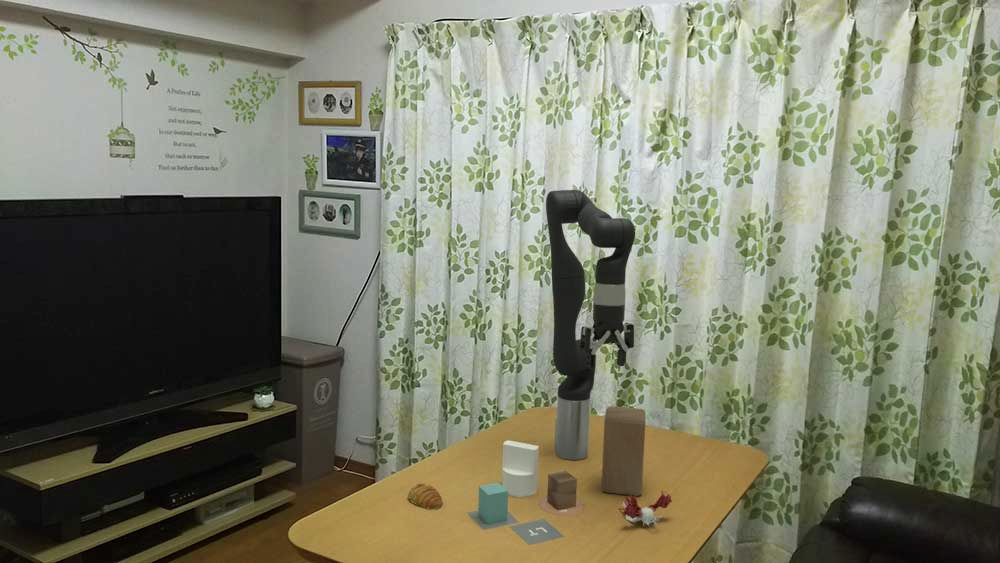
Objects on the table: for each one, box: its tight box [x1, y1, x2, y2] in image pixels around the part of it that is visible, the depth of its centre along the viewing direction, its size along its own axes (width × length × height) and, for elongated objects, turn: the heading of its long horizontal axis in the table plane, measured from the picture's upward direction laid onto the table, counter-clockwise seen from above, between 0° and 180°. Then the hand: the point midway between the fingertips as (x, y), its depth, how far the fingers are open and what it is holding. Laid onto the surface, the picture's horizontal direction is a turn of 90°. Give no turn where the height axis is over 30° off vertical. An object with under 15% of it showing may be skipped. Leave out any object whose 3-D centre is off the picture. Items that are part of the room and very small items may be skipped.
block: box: [600, 405, 646, 497], centre depth 183 cm, size 10×10×20 cm
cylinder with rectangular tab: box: [501, 440, 540, 498], centre depth 180 cm, size 9×9×12 cm
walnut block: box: [546, 470, 578, 510], centre depth 172 cm, size 5×5×7 cm
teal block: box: [477, 482, 509, 524], centre depth 165 cm, size 5×5×7 cm
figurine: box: [617, 490, 673, 527], centre depth 166 cm, size 15×12×7 cm
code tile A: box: [509, 518, 565, 546], centre depth 159 cm, size 9×9×1 cm
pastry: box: [407, 482, 444, 510], centre depth 172 cm, size 9×7×4 cm
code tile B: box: [467, 510, 520, 531], centre depth 166 cm, size 9×9×1 cm
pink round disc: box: [538, 495, 585, 516], centre depth 173 cm, size 11×11×1 cm
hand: (606, 367), depth 174 cm, fingers open, 8 cm apart
